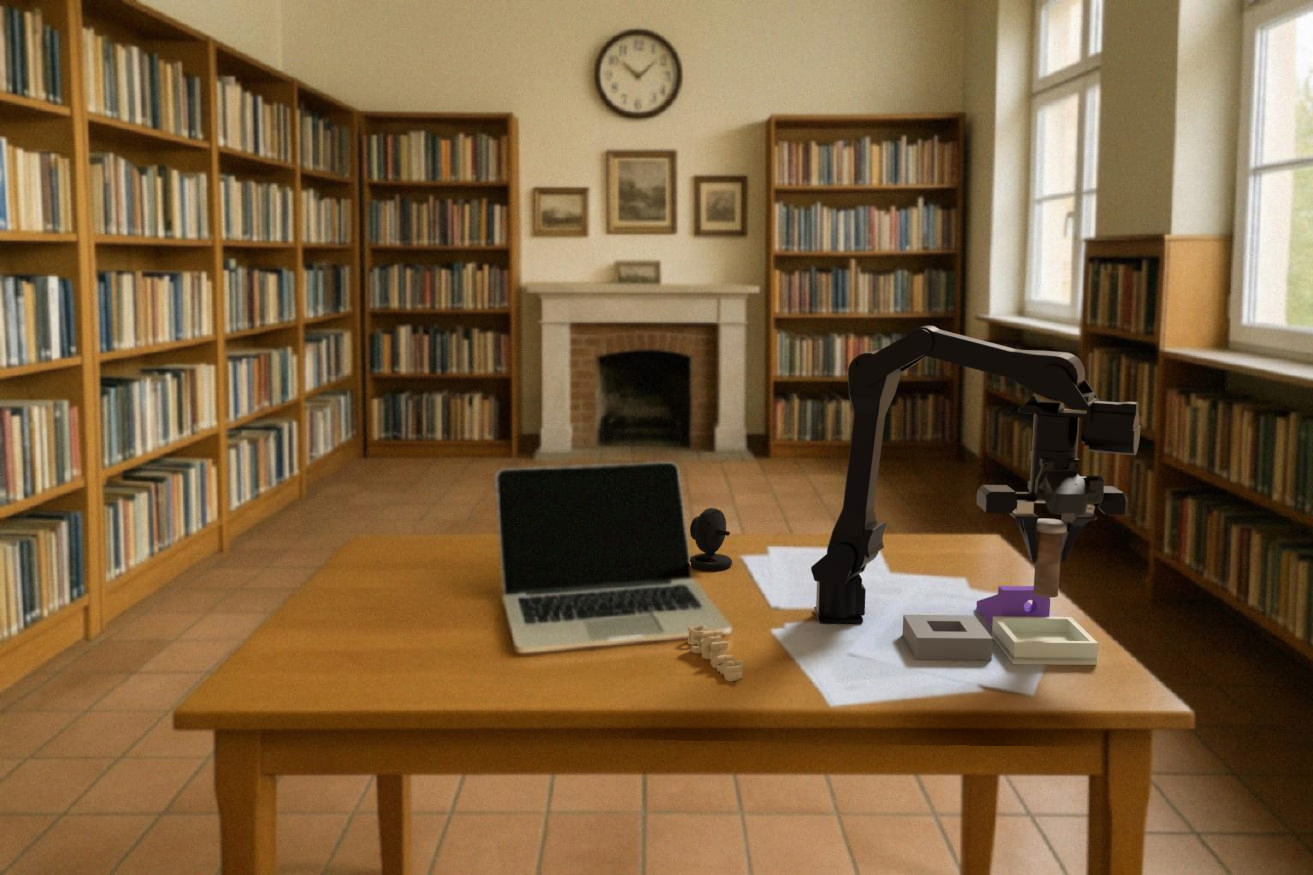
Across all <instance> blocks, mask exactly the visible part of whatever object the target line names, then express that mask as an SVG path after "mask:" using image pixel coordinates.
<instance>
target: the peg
mask: <svg viewBox="0 0 1313 875" xmlns="http://www.w3.org/2000/svg"><path fill="white" fill-rule="evenodd" d="M1065 532H1067V522H1065V521H1062V520H1061V519H1056V518H1038V521H1037V524H1036V545H1037V554H1036V562H1035V563H1034V573H1033V574H1034V575H1033V576H1034V577H1033V578H1034V579H1033V586H1034V590H1033V594H1034V595H1036V596H1040V597H1046V598H1050V599H1051V598H1052V599H1053V598H1057V597H1058V596H1059V587H1060V586H1059V585H1060V569H1061V568H1060V567H1061V562H1060V556H1061V541H1062V533H1065Z"/></svg>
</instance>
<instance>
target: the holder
mask: <svg viewBox="0 0 1313 875" xmlns="http://www.w3.org/2000/svg"><path fill="white" fill-rule="evenodd" d="M902 637H903V639H904V640H905V643H906V644H907V646H908V647H909V649H910V651H911V652H912V654H913V657H915V659H916V660H939V661H940V660H943V661H944V660H945V661H946V660H947V661H948V660H949V661H950V660H951V661H954V660H956V661H957V660H958V661H959V660H960V661H961V660H962V661H966V660H967V661H992V657H993V641H994V639H993V638H992V635H991V634H990V633H989V632H988V631H987V629H986V628H985V626H983V624H982V623H981V622H980V621H979V619H978V618H977V617H976V616H975V614H974V615H973V614H969V615H968V614H965V615H964V614H963V615H962V614H903V615H902Z"/></svg>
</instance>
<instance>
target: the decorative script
mask: <svg viewBox="0 0 1313 875" xmlns="http://www.w3.org/2000/svg"><path fill="white" fill-rule="evenodd" d="M687 631H688V636H687V637H688V638H687V644H688V645H691V647H690V652H692V653H693V654H701V657H702V658H703V659H706V660H710V666H711V667H712V668H714V669H716V671H717V673H718V672H719V674H721V675H723V676H724V680H725V681H728V682H736V681H738V680H739V679H743V677H744V676H743V675H744V674H743V673H744V665H743V660H742V659H738V660H736V661H735V657H734V655H731V654H722V652H724V651H726V650H727V649H728V647H729V642H728V641H727V640H726V641H725V640H724V641H723V640H722V636H723V630H722V629H719V628H716V629H711V630H710V629H709V630H708V626H707V624H706V625H705V624H702V625H701V624H700V625H698V626H687Z"/></svg>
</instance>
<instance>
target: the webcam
mask: <svg viewBox="0 0 1313 875" xmlns="http://www.w3.org/2000/svg"><path fill="white" fill-rule="evenodd" d="M689 527H690V528H689V534H690V537H691V538H692V540H694V541H695V544H696V547H697V548H698V549H699V550H700V552H701V553H697V554H694V555H691V556H690V557H689V558H690V562H691V566H692V567H691V566H690V567H691V568H693V569H695V570H699V571H707V572H710V571H711V572H716V571H723V570H727V569H729V568H731V566H733V560H732V558H731V557H730V556H728V555H726V554H721V553H716V552H717V551H718V550H719V549H720V548H721V546H722V545H723V544H724V541H725V540H726V539H725V538H726V536H728V537H730V535H731V532H730V531H728V530H727V520H726V516H725V514H724V513H723V511H722V510H720V509H718V508H714V507H709V508H706V509H704V510H703V511H702V512H701V513H700V514H699V515H698V516H695V517H694V518H693V520H691V523H690V526H689ZM702 552H703V553H702Z"/></svg>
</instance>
